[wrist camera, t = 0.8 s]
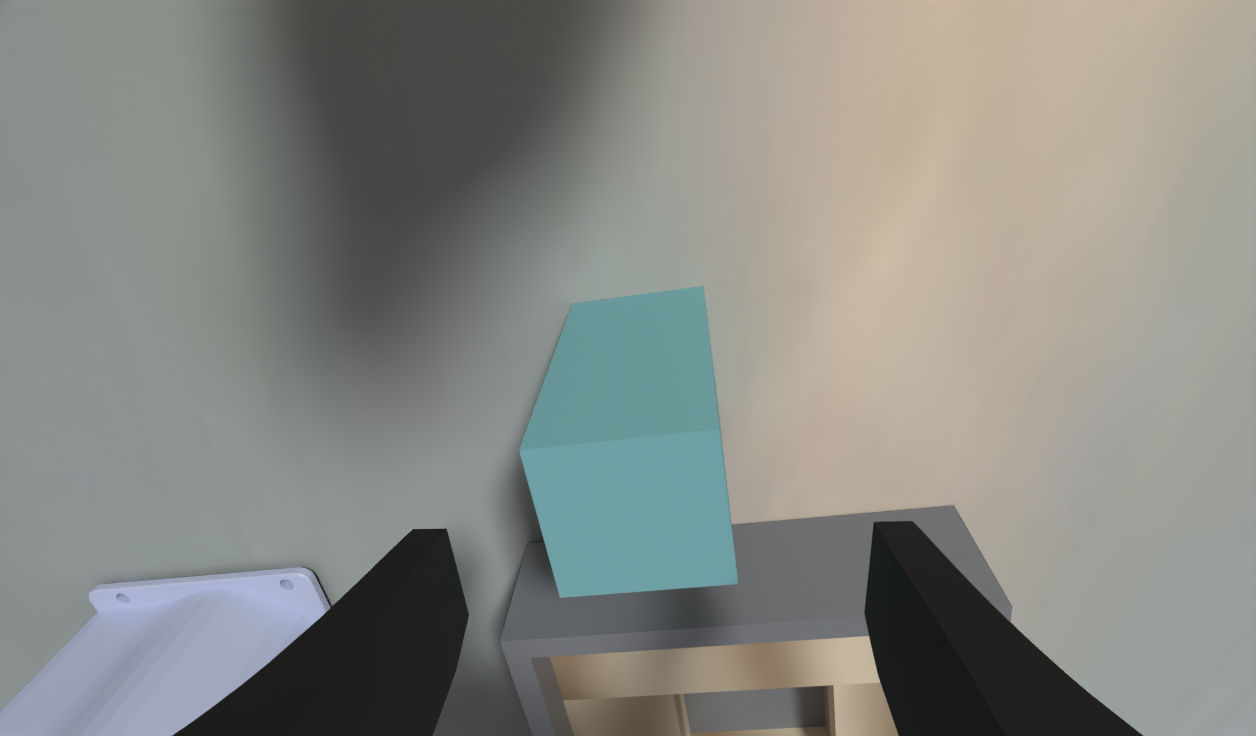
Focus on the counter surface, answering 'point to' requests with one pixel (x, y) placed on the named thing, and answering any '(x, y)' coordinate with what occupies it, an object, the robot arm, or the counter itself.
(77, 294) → the counter surface
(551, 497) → the peg
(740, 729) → the box
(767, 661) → the beige frame
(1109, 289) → the counter surface
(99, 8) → the counter surface
